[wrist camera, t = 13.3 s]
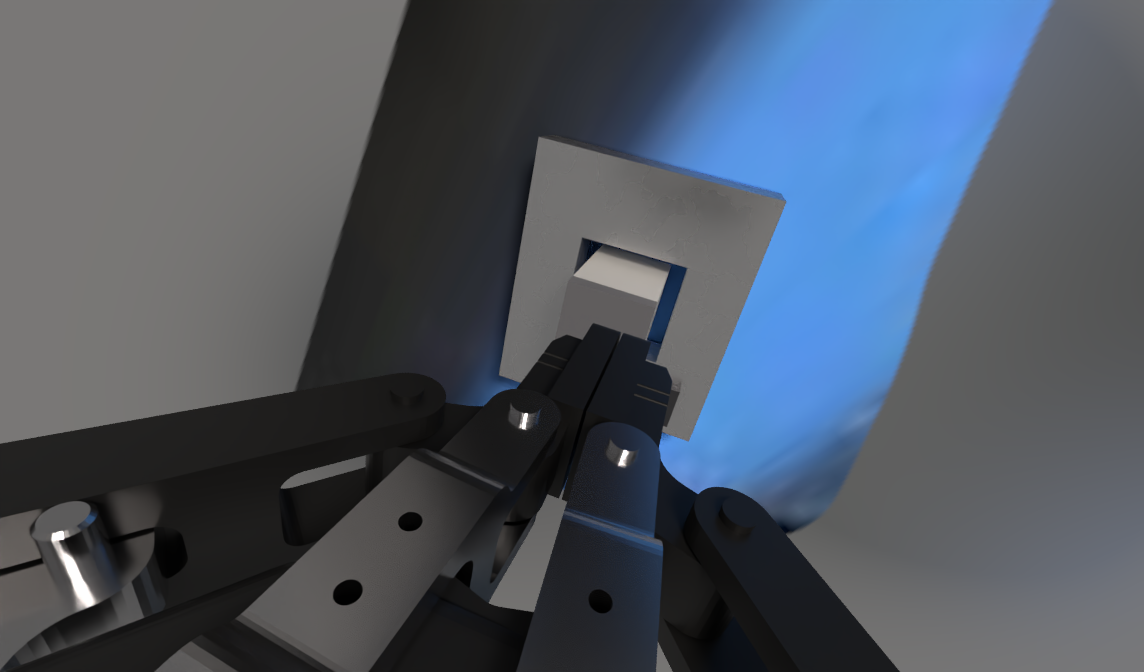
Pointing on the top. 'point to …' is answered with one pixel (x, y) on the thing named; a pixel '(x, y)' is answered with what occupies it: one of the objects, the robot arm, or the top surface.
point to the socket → (648, 227)
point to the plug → (613, 294)
